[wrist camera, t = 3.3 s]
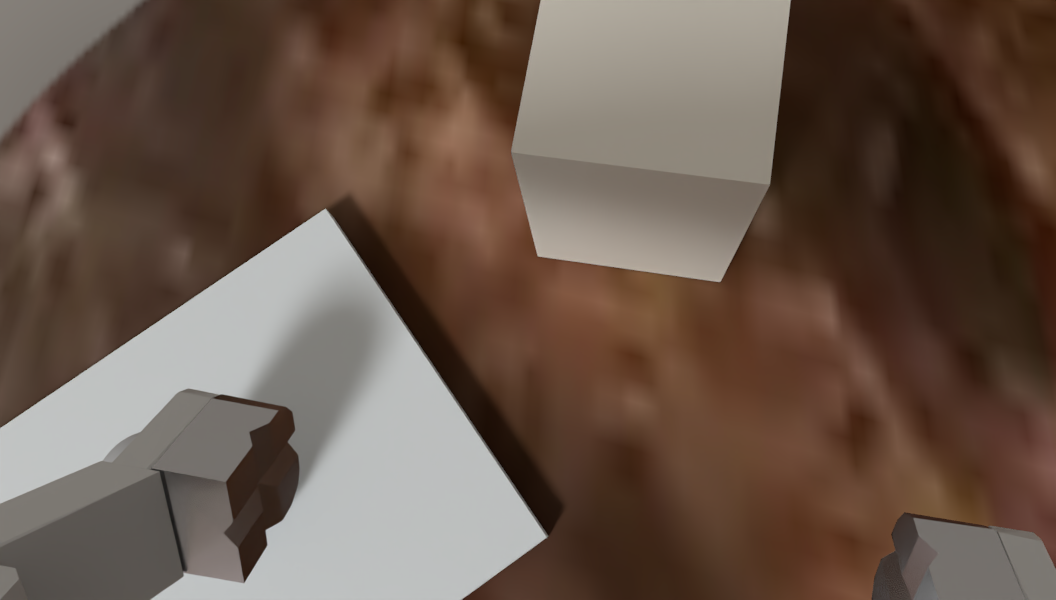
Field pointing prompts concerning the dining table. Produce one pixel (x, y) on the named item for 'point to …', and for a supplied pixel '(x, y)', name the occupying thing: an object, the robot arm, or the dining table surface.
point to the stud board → (306, 430)
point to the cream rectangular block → (649, 130)
